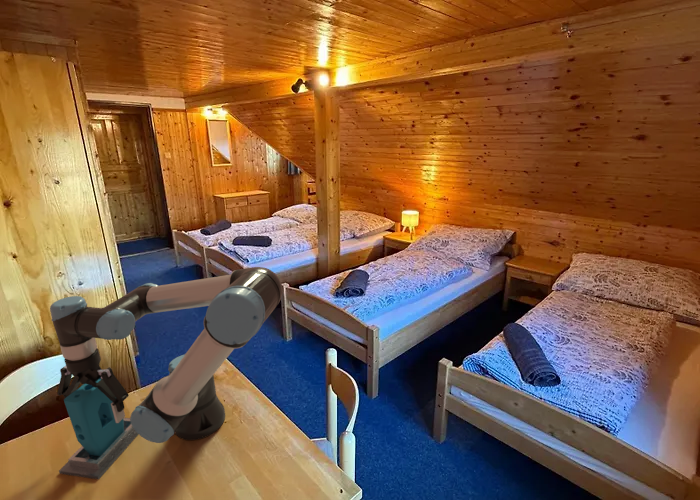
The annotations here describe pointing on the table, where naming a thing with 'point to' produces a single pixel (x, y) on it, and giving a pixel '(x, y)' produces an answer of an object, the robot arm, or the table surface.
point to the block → (93, 419)
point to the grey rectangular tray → (98, 465)
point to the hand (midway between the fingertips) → (99, 417)
